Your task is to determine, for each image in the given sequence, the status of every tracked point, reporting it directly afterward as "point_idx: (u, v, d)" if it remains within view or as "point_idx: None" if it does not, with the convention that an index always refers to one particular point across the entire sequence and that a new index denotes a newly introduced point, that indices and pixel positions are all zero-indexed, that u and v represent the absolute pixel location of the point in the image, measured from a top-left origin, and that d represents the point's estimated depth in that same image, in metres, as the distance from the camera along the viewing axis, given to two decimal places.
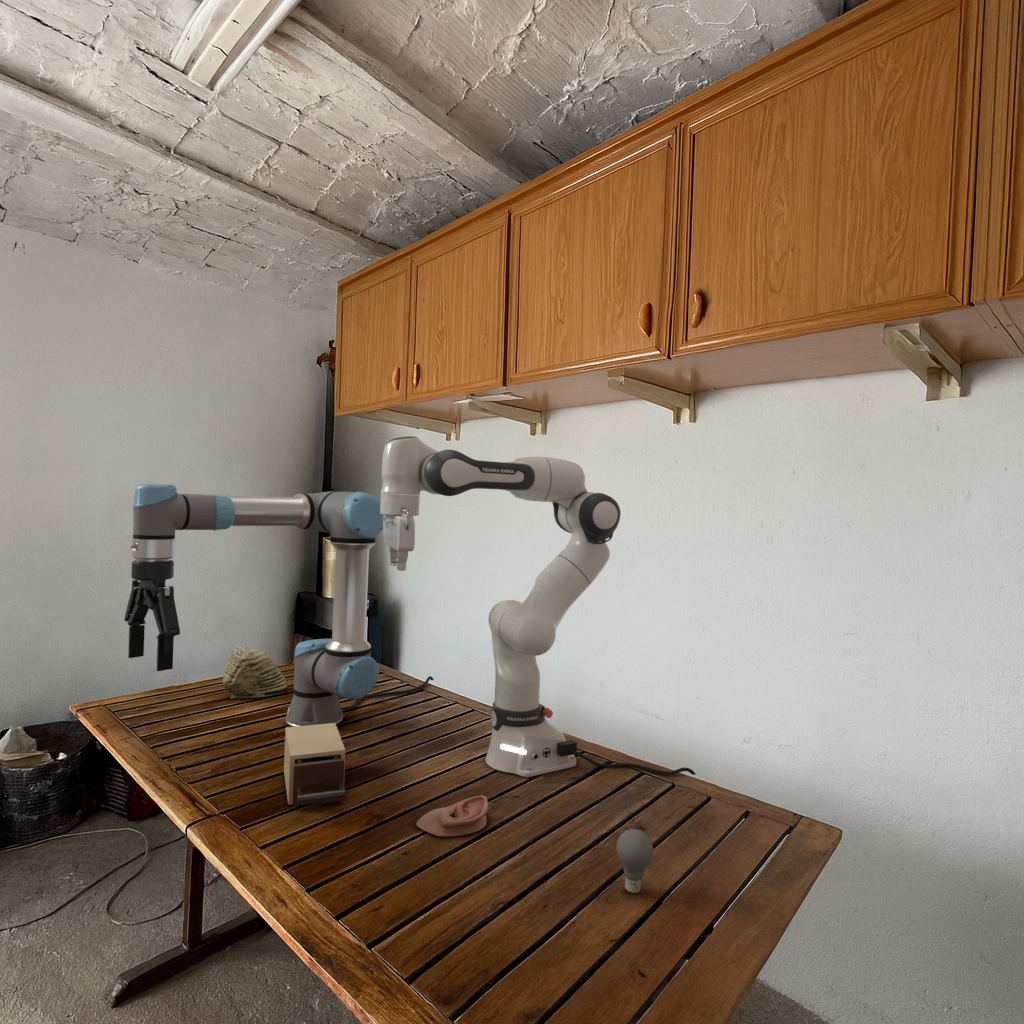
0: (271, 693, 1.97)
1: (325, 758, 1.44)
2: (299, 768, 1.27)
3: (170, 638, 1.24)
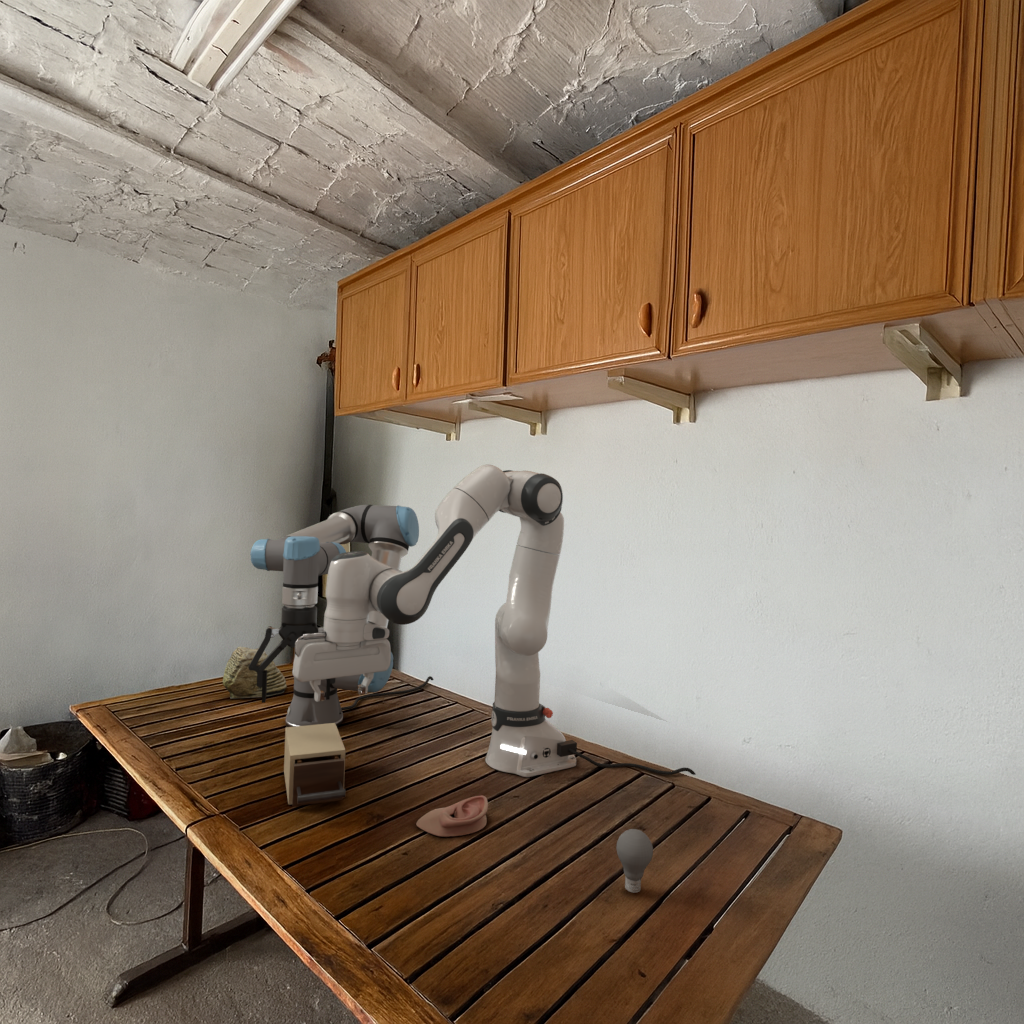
0: (271, 693, 1.97)
1: (325, 758, 1.44)
2: (299, 768, 1.27)
3: None
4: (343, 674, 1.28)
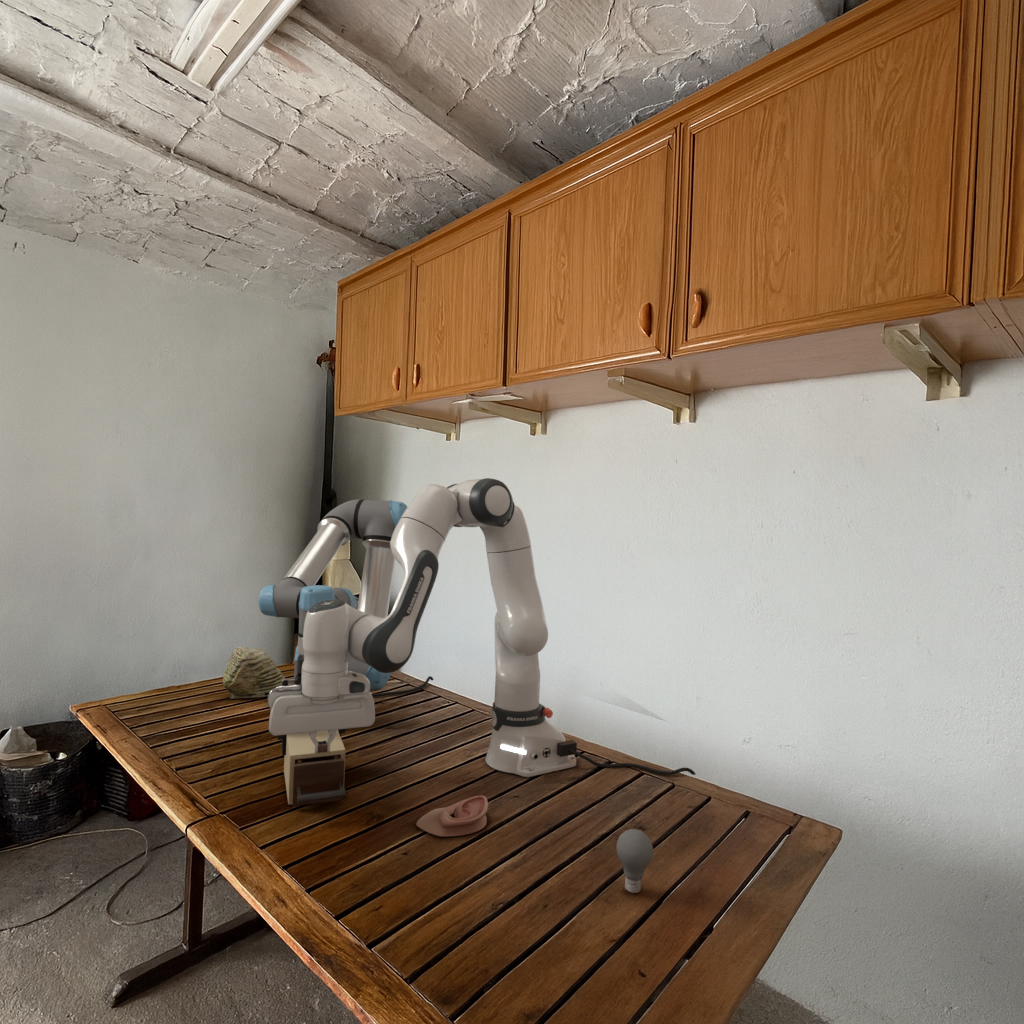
0: None
1: (325, 758, 1.44)
2: (299, 768, 1.27)
3: None
4: (320, 729, 1.24)
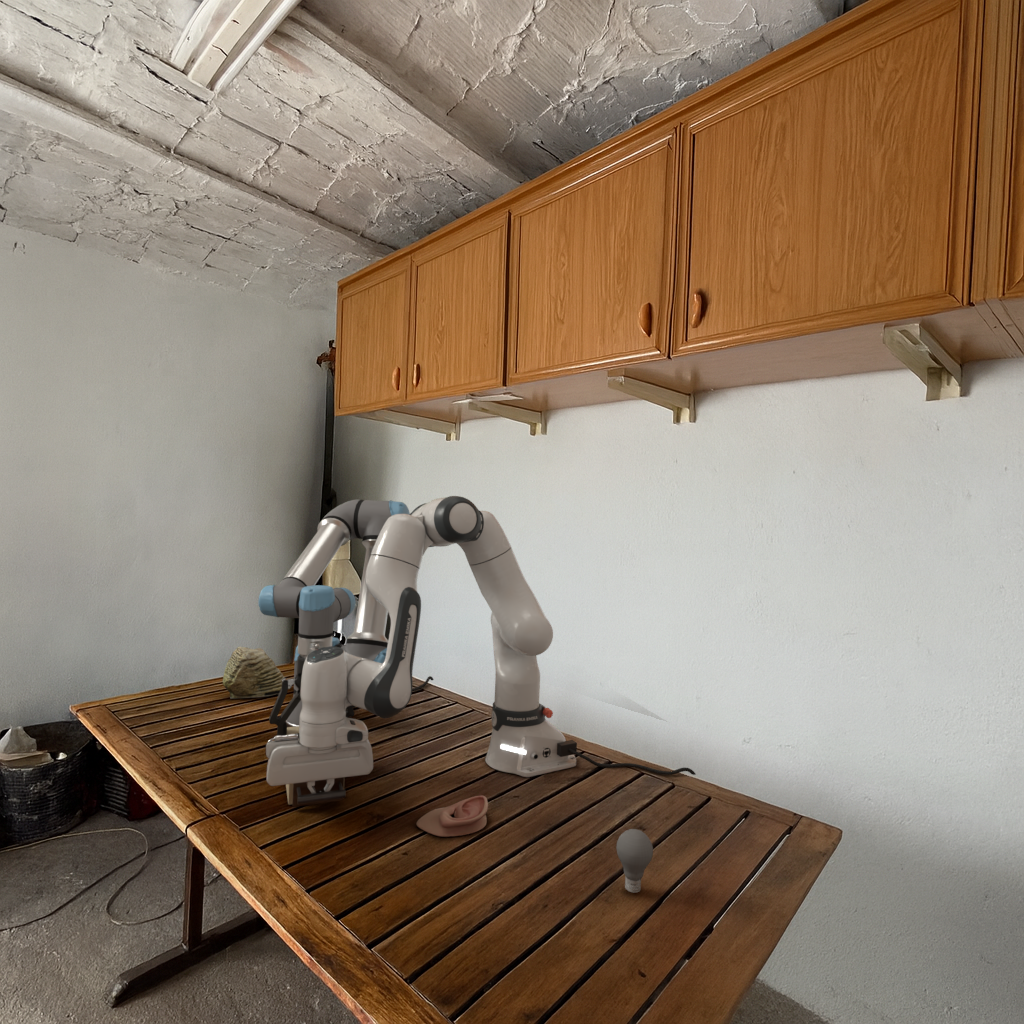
0: (271, 693, 1.97)
1: None
2: None
3: None
4: (317, 778, 1.24)
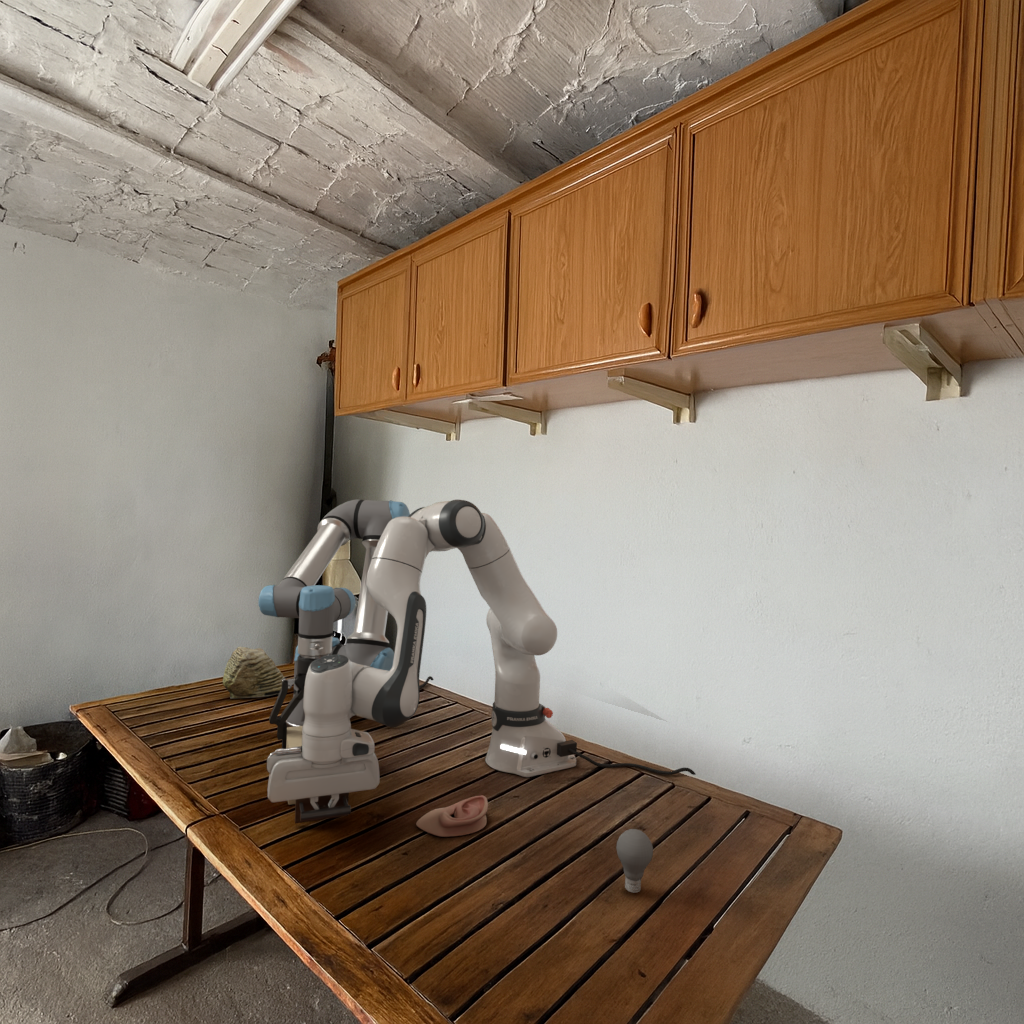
0: (271, 693, 1.97)
1: None
2: None
3: None
4: (321, 793, 1.17)
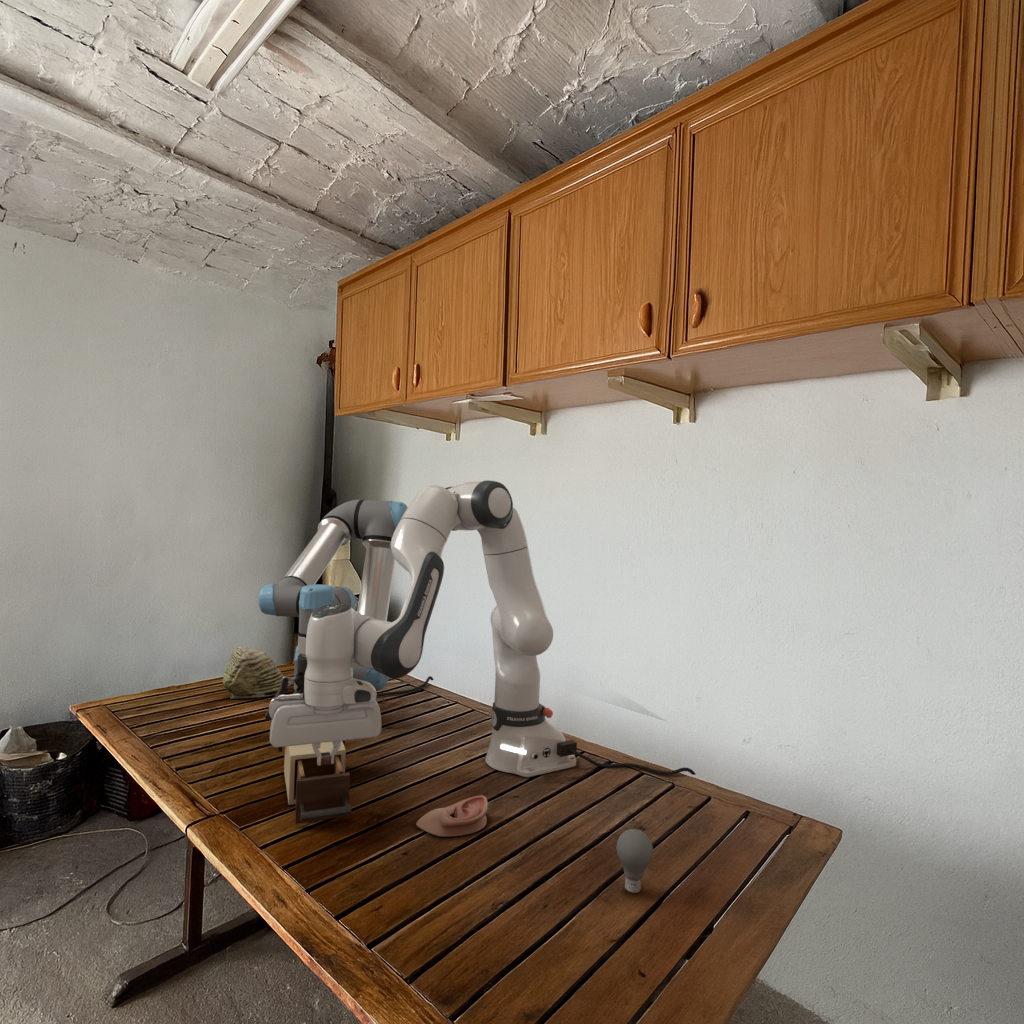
0: (271, 693, 1.97)
1: (329, 771, 1.37)
2: (302, 783, 1.21)
3: None
4: (323, 740, 1.18)
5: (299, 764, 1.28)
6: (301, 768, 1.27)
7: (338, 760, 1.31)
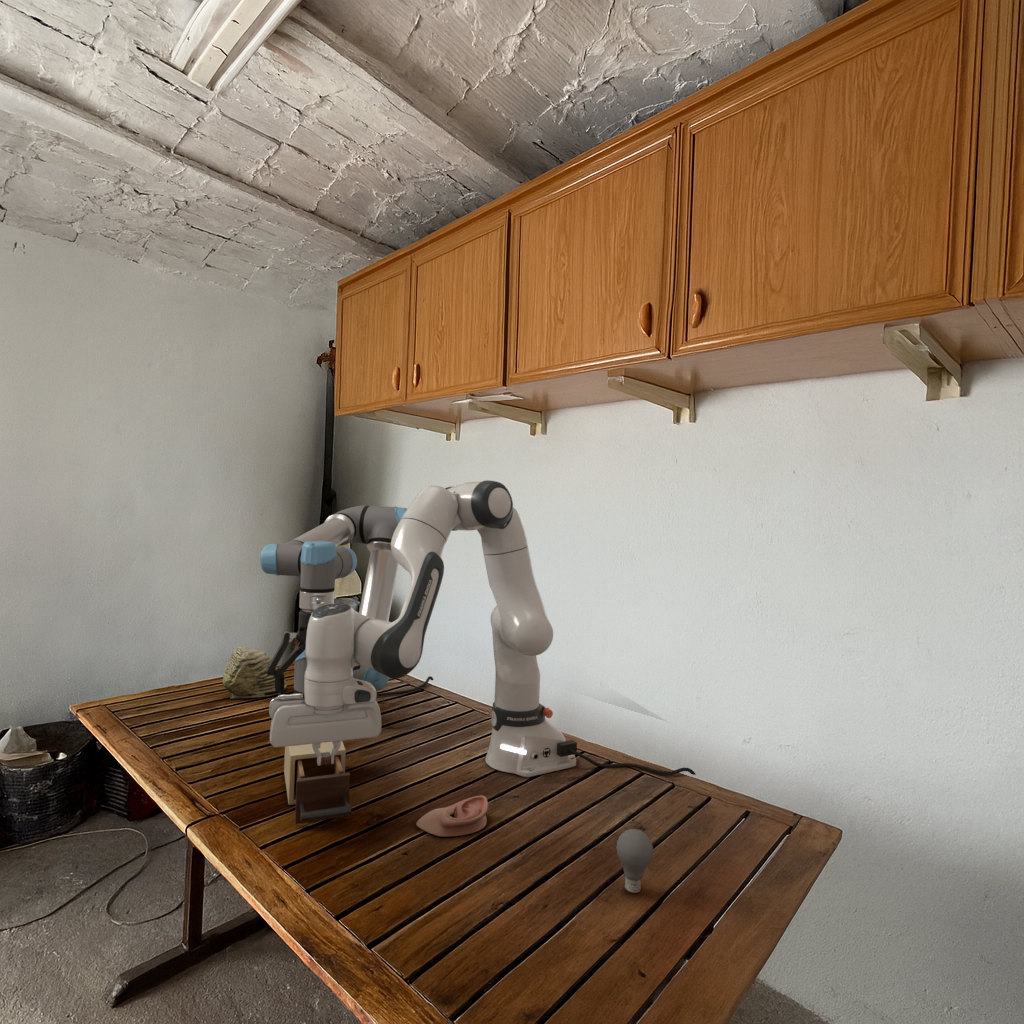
0: (271, 693, 1.97)
1: (329, 771, 1.37)
2: (302, 783, 1.21)
3: None
4: (323, 740, 1.18)
5: (299, 764, 1.28)
6: (301, 768, 1.27)
7: (338, 760, 1.31)
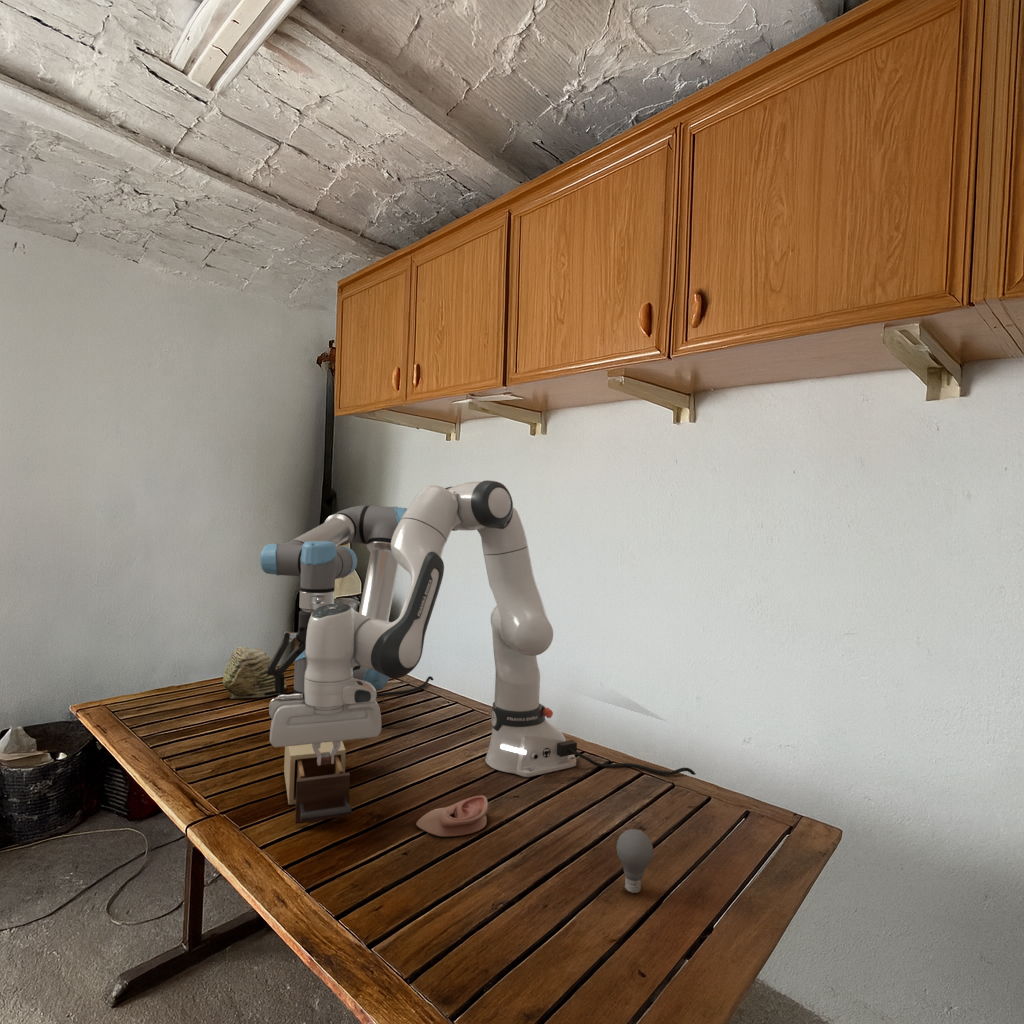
0: (271, 693, 1.97)
1: (329, 771, 1.37)
2: (302, 783, 1.21)
3: None
4: (323, 740, 1.18)
5: (299, 764, 1.28)
6: (301, 768, 1.27)
7: (338, 760, 1.31)
